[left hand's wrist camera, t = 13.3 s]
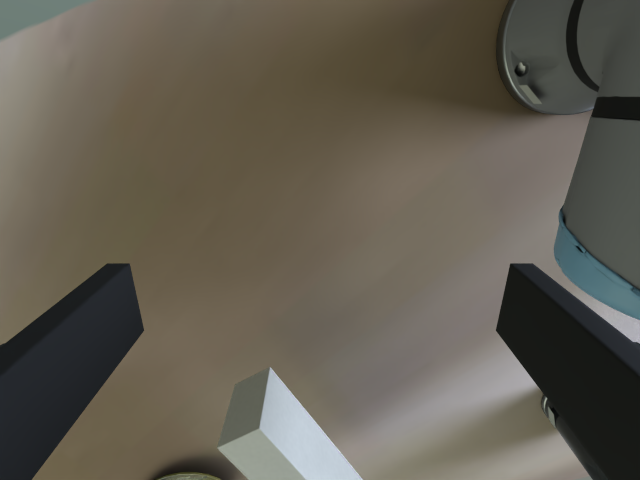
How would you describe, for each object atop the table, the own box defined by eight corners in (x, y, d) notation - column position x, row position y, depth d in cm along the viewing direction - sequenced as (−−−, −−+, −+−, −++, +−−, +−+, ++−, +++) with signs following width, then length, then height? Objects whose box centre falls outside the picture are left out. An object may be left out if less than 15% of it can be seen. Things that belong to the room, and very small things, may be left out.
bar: (234, 384, 45) (216, 448, 37) (270, 366, 44) (259, 428, 36) (338, 500, 54) (342, 574, 46) (370, 488, 53) (380, 560, 45)
